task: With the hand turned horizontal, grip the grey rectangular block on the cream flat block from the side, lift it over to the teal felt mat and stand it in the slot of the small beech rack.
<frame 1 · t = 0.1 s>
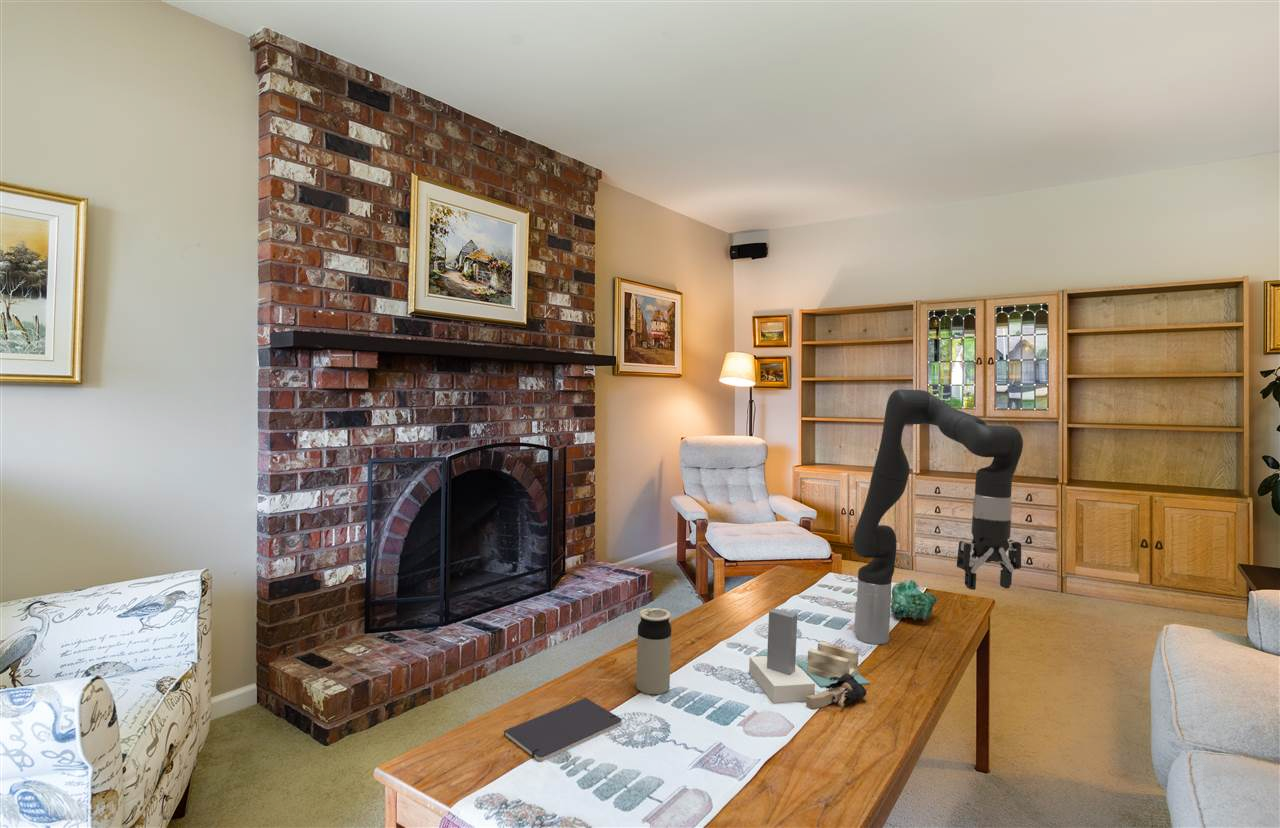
hand: (987, 588, 143), 29 cm above the table, tool pointing down, fingers open, 8 cm apart
toy figure: (836, 704, 149), on the table
cream flat block: (780, 685, 157), on the table
travel mug: (652, 688, 154), on the table
grey rectangular block: (780, 669, 156), point 4 cm above the table, touching cream flat block
mineral: (910, 616, 208), on the table
rack: (832, 661, 164), on the mat
mat: (832, 674, 164), on the table
notebook: (564, 733, 134), on the table
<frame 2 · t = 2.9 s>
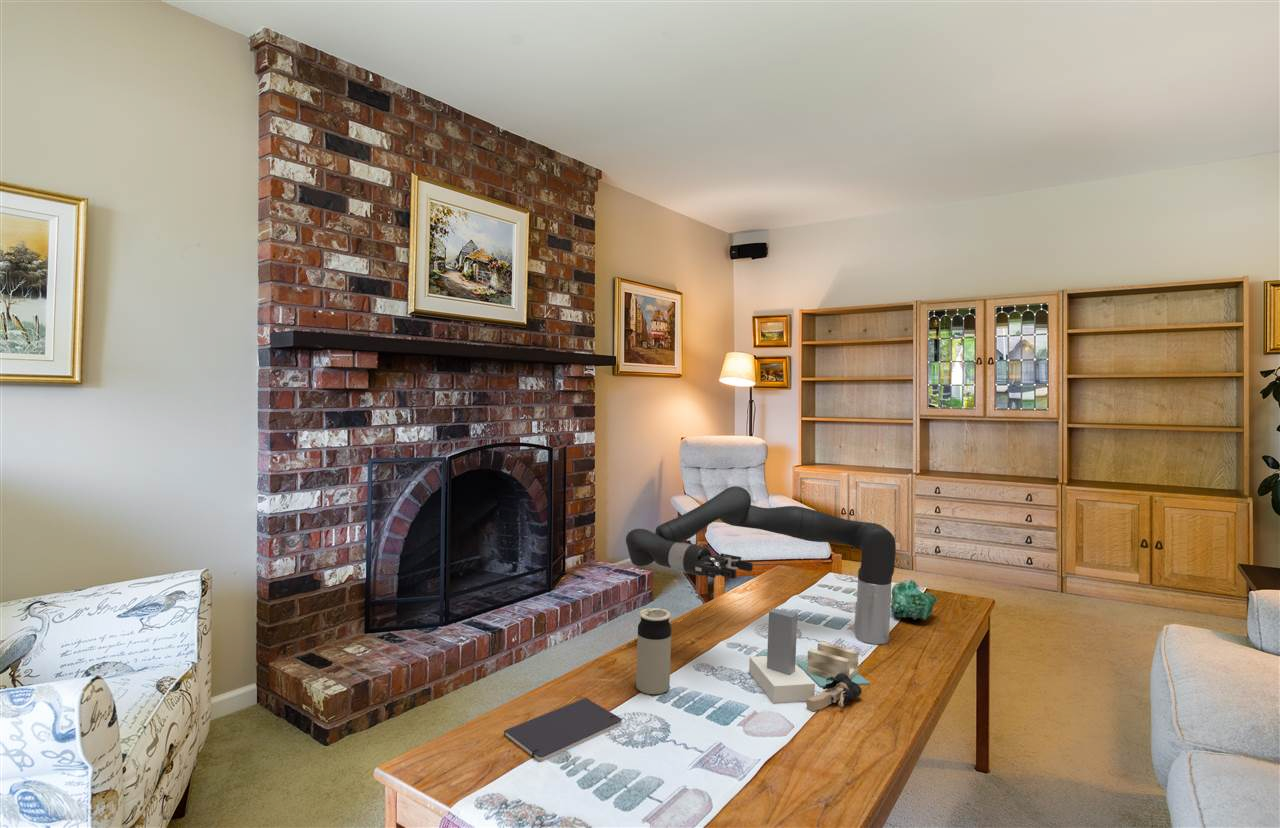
hand: (744, 570, 162), 26 cm above the table, tool horizontal, fingers open, 8 cm apart
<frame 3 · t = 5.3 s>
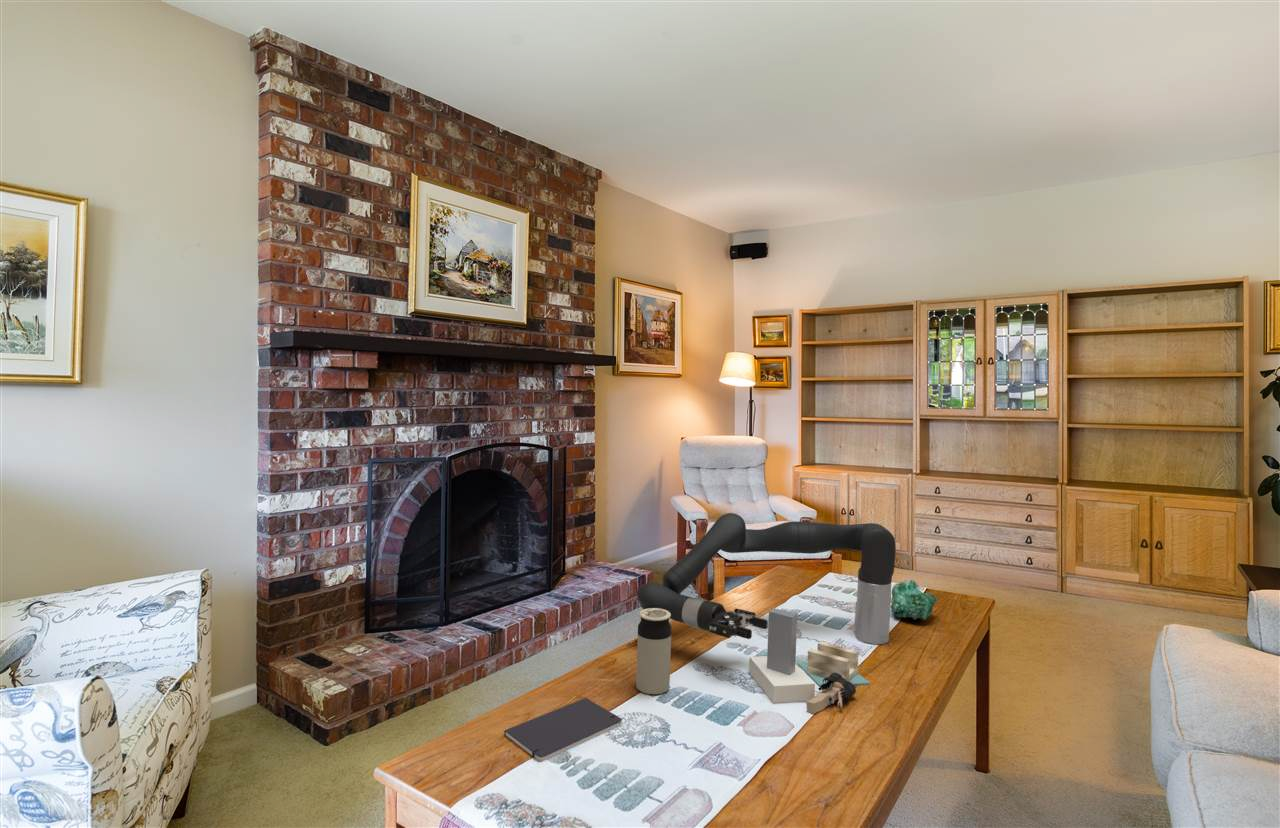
hand: (759, 629, 160), 12 cm above the table, tool horizontal, fingers open, 8 cm apart
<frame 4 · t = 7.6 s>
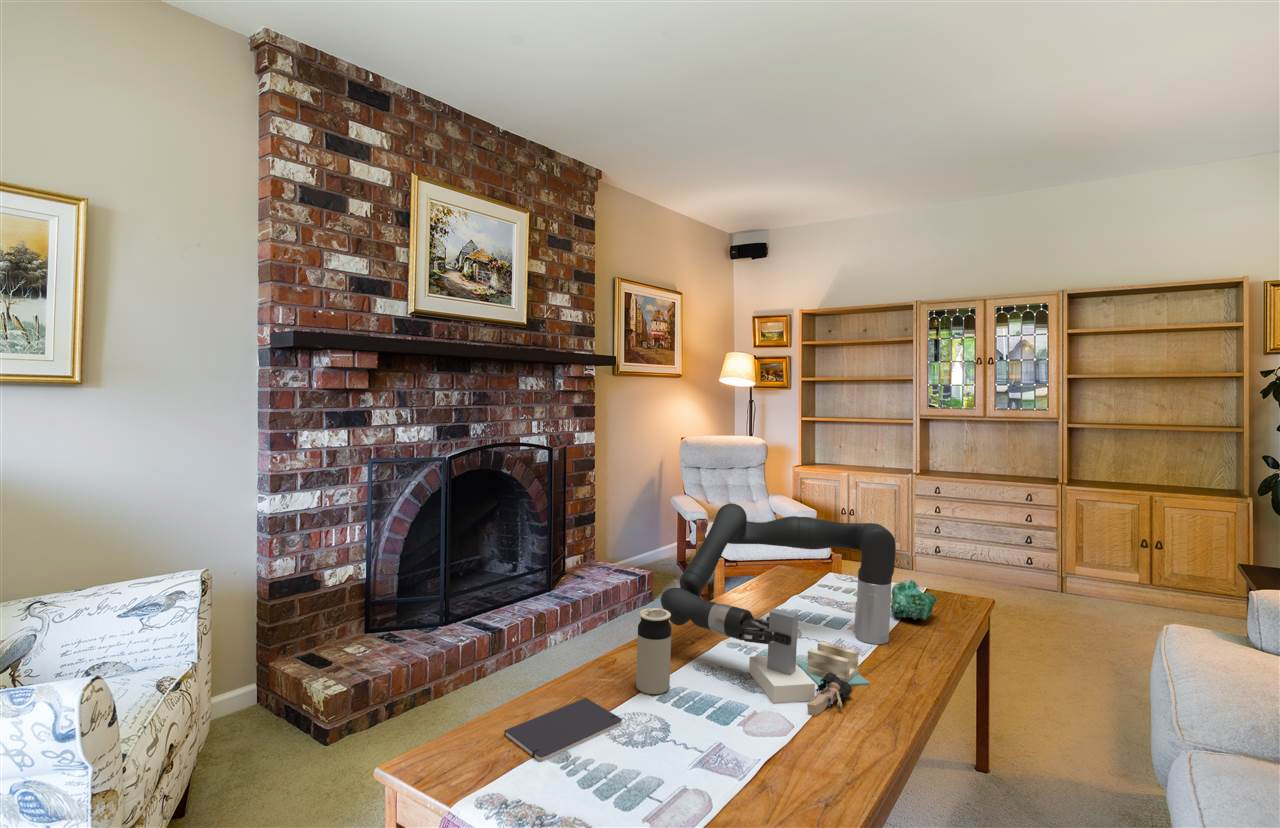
hand: (793, 638, 154), 12 cm above the table, tool horizontal, fingers closed on grey rectangular block, 3 cm apart
toy figure: (829, 705, 148), on the table, touching cream flat block
grey rectangular block: (781, 669, 156), point 4 cm above the table, touching cream flat block, gripper
everything else where it was.
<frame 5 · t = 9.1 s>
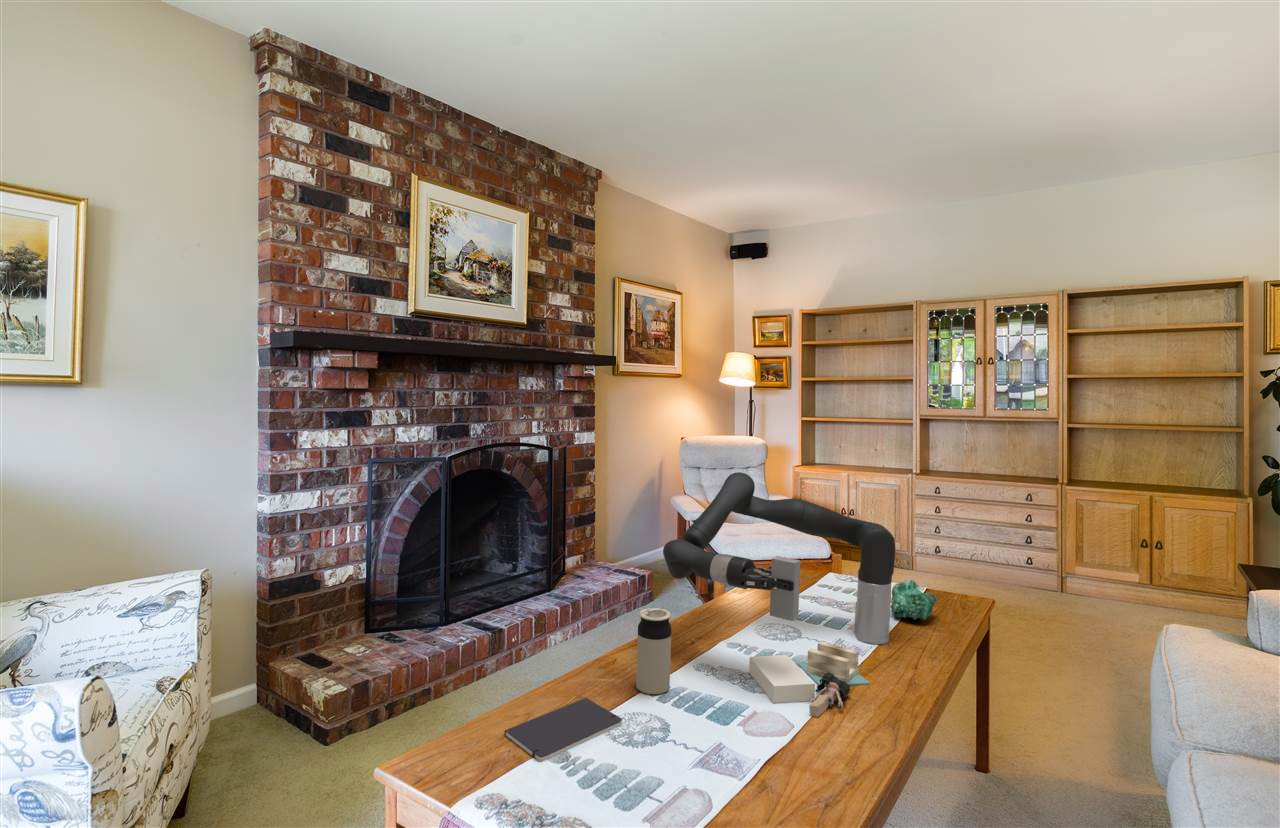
hand: (795, 584, 154), 26 cm above the table, tool horizontal, fingers closed on grey rectangular block, 3 cm apart
toy figure: (829, 705, 148), on the table
grey rectangular block: (783, 616, 156), point 17 cm above the table, touching gripper
everything else where it was.
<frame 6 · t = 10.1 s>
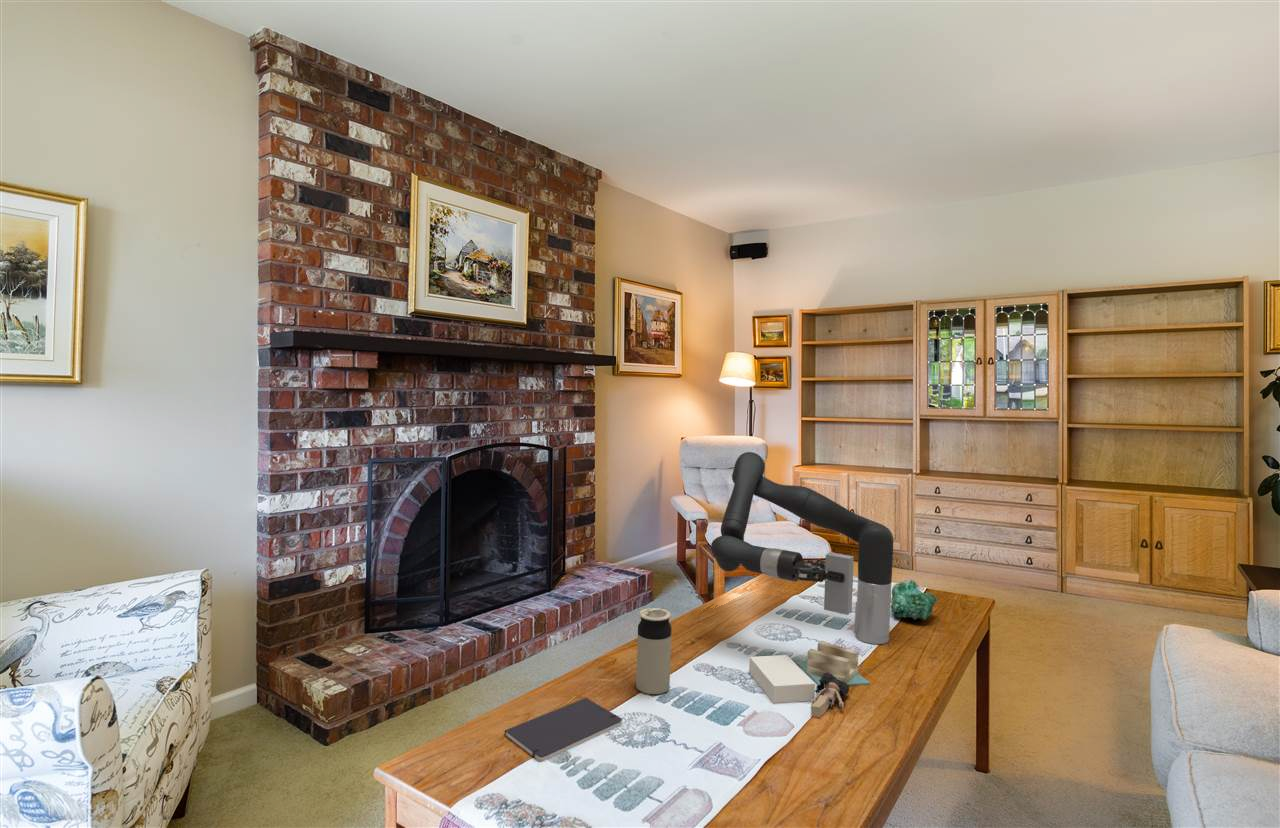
hand: (846, 576, 160), 26 cm above the table, tool horizontal, fingers closed on grey rectangular block, 3 cm apart
grey rectangular block: (837, 610, 162), point 17 cm above the table, touching gripper
everything else where it was.
when the fingers open (12 cm above the table, at t = 12.5 s): grey rectangular block stays where it is, resting on rack.
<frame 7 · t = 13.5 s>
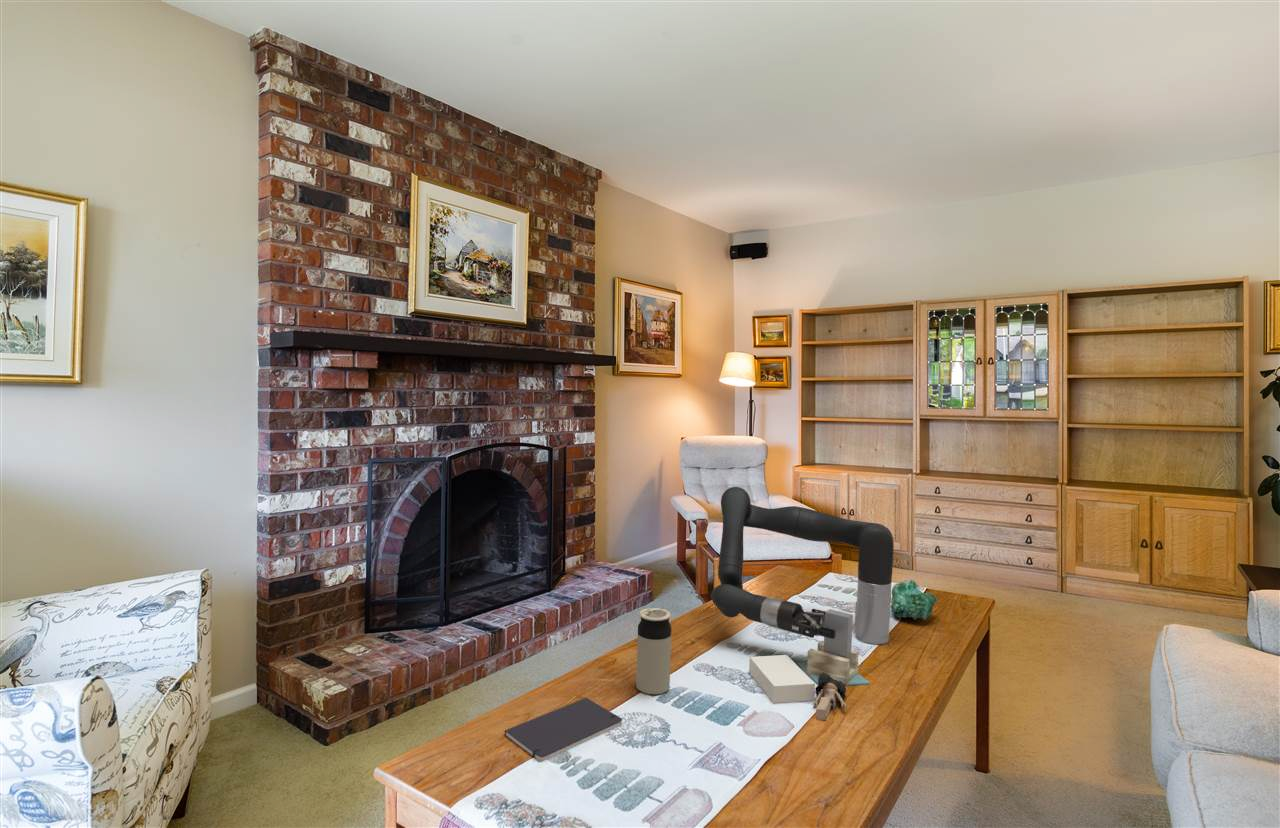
hand: (841, 629, 162), 12 cm above the table, tool horizontal, fingers open, 8 cm apart
grey rectangular block: (836, 667, 163), point 2 cm above the table, touching rack
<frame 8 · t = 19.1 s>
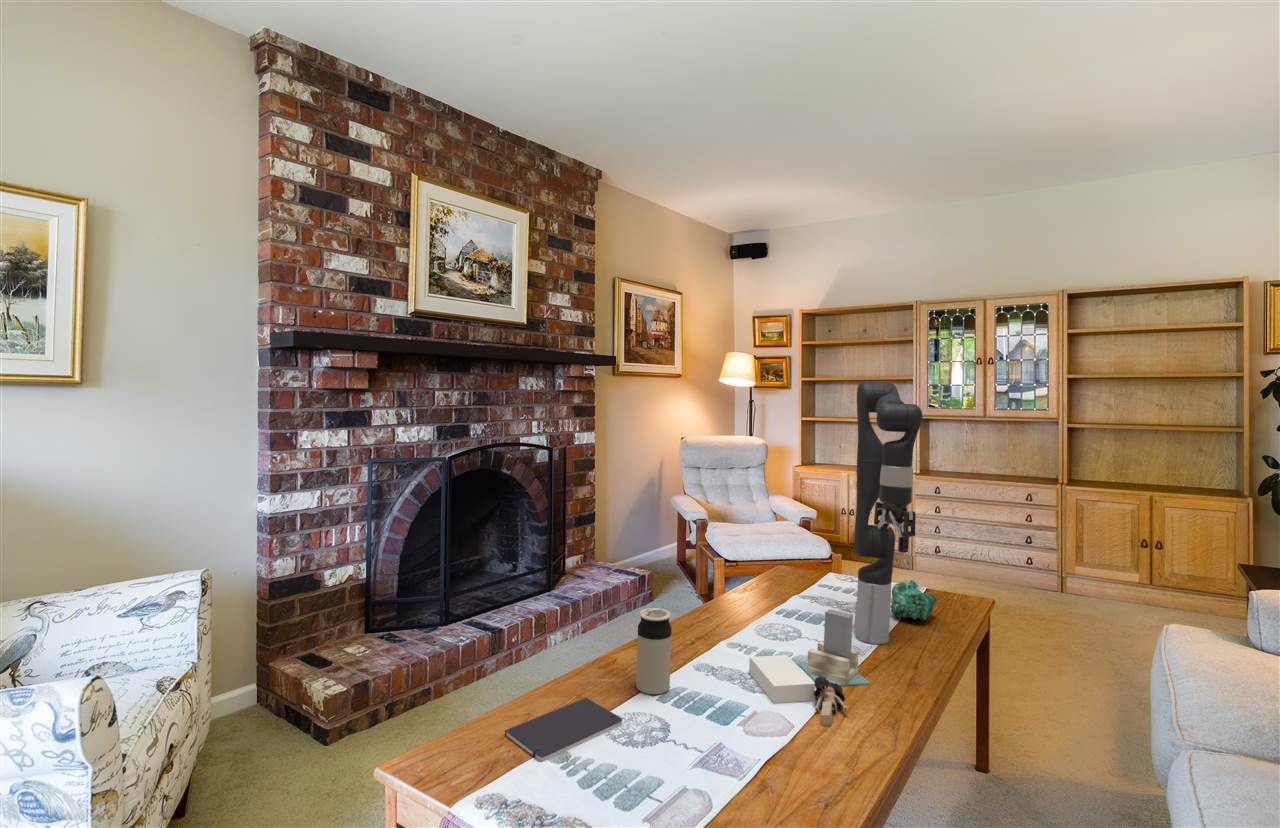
hand: (892, 547, 161), 33 cm above the table, tool pointing down, fingers open, 8 cm apart
toy figure: (829, 711, 146), on the table
everything else where it was.
at the end: grey rectangular block 1.1 cm off-centre on the rack, point 1.5 cm above the rack's base; grey rectangular block tilted 0°; the gripper is holding nothing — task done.
